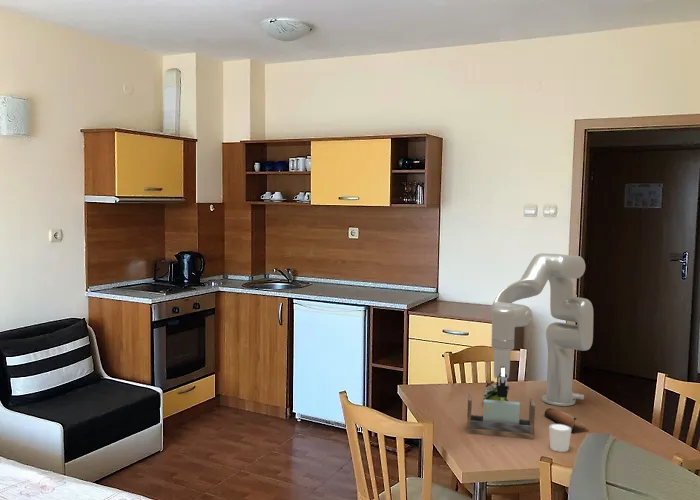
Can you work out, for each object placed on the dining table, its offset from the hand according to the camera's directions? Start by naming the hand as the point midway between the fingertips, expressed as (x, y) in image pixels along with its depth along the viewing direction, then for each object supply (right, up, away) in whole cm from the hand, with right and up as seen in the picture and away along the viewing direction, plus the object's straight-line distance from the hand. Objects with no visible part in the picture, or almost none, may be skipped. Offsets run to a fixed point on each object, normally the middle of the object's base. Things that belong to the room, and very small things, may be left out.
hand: (501, 392), depth 216 cm
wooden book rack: (-1, -14, +1) cm, 14 cm away
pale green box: (0, -12, +1) cm, 12 cm away
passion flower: (+5, -12, +29) cm, 32 cm away
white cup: (+15, -15, -13) cm, 25 cm away
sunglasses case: (+26, -14, +10) cm, 31 cm away
